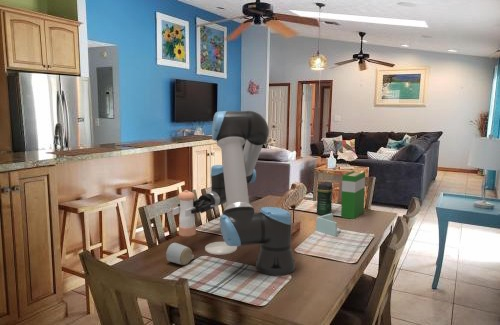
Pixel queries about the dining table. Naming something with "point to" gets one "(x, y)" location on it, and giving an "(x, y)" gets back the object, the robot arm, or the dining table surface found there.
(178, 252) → the ceramic mug
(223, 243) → the cream saucer
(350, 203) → the hardback book
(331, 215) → the l-shaped corner panel
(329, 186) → the coffee jar
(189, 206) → the pepper shaker
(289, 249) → the robot arm
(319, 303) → the dining table surface
